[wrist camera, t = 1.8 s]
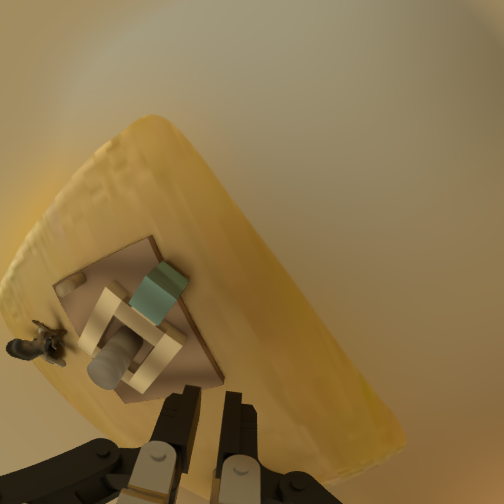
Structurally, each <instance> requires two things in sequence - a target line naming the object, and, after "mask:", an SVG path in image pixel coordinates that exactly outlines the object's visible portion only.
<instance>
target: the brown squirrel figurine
mask: <svg viewBox="0 0 504 504" xmlns="http://www.w3.org/2000/svg"><path fill="white" fill-rule="evenodd" d="M32 322H33V323H34V324H36V325H37V326H39V335H38V338H37V339H36V340H33V341H28V340H21V339H14V340H12V341H10V342H8V345H7V346H6V351H7V352H8V354H10V356H12V357H15V358H19V359H22V360H27V361H30V360H33V359H34V358H36V357H38V356H41V357H42V358H43V359H44V360H46V361H47V362H49V363H52V364H56V365H58V366H61V367H64V366H66V362H65V361H64V360H63V359H62V358H60V357H58V356H56V355H55V349H57V348H56V346H57V343H58V342H60V344H61V345H63V346H64V342H62V341H61V339H60V338H61V337H62V336H63V335H64V334H66V333H67V331H61V330H52V329H49V328H47V327H46V326H44V325H43V323H40V322H39V321H36V320H32Z"/></svg>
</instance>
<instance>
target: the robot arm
mask: <svg viewBox="0 0 504 504" xmlns="http://www.w3.org/2000/svg"><path fill="white" fill-rule="evenodd" d="M201 389H202V388H201V387H198V386H193V385H187V384H186V385H185V387H184V390H183V393H182V394H178V393H172V394H170V395H169V396H168V397H167V398H166V399H165V402H164V404H163V407H162V409H161V412H160V415H159V417H158V420H157V423H156V426H155V428H154V431H153V434H152V436H151V439H150V441H149V442H148V443H146V444H144V445H143V446H142V447H139V448H118V446H117V445H116V444H115V443H114V442H112V441H111V440H108V439H104V438H97V439H94V440H91V441H89V442H87V443H85V444H83V445H81V446H79V447H76V448H74V449H72V450H69V451H67V452H65V453H62V454H60V455H58V456H55V457H53V458H50V459H48V460H45V461H43V462H40V463H37V464H35V465H32V466H30V467H27V468H24V469H21V470H18V471H15V472H12V473H9V474H6V475H3V476H0V504H106V503H108V502H109V501H111V500H113V499H115V498H117V497H118V496H119V497H118V500H117V503H116V504H175V503H176V499H177V493H178V488H179V483H180V479H181V474H182V473H186V474H188V469H189V464H190V460H191V455H192V450H193V445H194V440H195V436H196V431H197V426H198V422H199V416H200V406H201ZM241 402H242V393H239V392H231V391H226V395H225V402H224V410H223V417H222V425H221V433H220V442H219V450H218V458H217V467H216V469H215V470H214V473H213V480H212V488H211V496H210V504H342V503H341V502H340V501H339V500H338V499H337V498H335V497H334V496H333V495H332V494H331V493H330V492H328V491H327V490H326V489H325V488H324V487H323V486H322V485H321V484H320V483H318V482H317V481H316V480H315V479H314V478H313V477H312V476H311V475H309V474H307V473H305V472H301V471H293V472H289V473H287V474H285V475H284V474H280V473H276V472H273V471H270V470H268V469H266V468H265V467H264V466H263V465H262V464H261V463H260V462H259V460H258V451H257V412H256V411H255V409H254V407H253V405H249V404H241Z"/></svg>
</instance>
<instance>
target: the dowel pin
mask: <svg viewBox="0 0 504 504" xmlns="http://www.w3.org/2000/svg"><path fill="white" fill-rule="evenodd" d="M85 282H86V276H85V274H84V273H82V272H80V273H78V274H77V275H75V276H73V277H71V278H70V279H68V280H66V281H64V282H63V283H61V284H59V285H58V286H57V287H56V292H57V294H58V295H59V296H60V297H64V296H66V295H67V294H69V293H70V292H72V291H73V290H75V289H76V288H78V287H80V286H81V285H83V284H84V283H85Z"/></svg>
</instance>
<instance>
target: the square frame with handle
mask: <svg viewBox="0 0 504 504" xmlns="http://www.w3.org/2000/svg"><path fill="white" fill-rule="evenodd" d="M188 282H189V280H187V279H186V278H185V277H184V276H182V275H181V274H180V273H178V272H177V271H176V270H174V269H173V268H172V267H171V266H169V265H168V264H167V263H165V262H164V261H162V262H161V263H160V264H159V265H157V266H156V267H155V268H154V269H153V270H152V271H150V272H149V273H148V274H147V275H146V276H145V277H144V279H143V281H142V282H141V284H140V285H139V287H138V288H137V290H136V292H135V293H134V295H133V296H132V295H131V294H130V293H128V292H127V291H126V290H125V289H123V288H122V287H121V286H120V285H119V284H117V283H116V282H115V281H113V282H111V283H110V284H109V285H107V286H106V287H105V289H104V290H103V292H102V294H101V296H100V298H99V300H98V302H97V304H96V306H95V308H94V310H93V312H92V314H91V316H90V318H89V320H88V322H87V324H86V326H85V328H84V330H83V333H82V335H81V337H80V339H79V341H78V344H77V345H78V346H79V347H80V348H82V349H83V350H84V351H85V352H86V353H88V354H89V355H90V356H91V357H92V358H95V356H96V355H97V354H98V353H99V352H100V351H101V349H102V348H103V347H104V346H105V345H106V343H107V342H108V341H107V340H106V339H105V338H104V336H105V334H106V332H107V330H108V329H109V327H110V325H111V323H112V322H113V320H114V318H115V317H117V318H118V319H119V320H120V321H122V322H123V323H124V324H125V325H127V326H128V327H129V328H131V329H132V330H133V331H135V332H136V333H137V334H138V335H140V336H141V337H142V338H144V339H145V340H147V341H148V342H149V343H151V344H152V345H153V346H154V347H153V348H152V349H151V351H150V352H149V353H148V355H147V356H146V357H145V359H144V360H143V361H142V363H141V364H140V365H139V364H137V363H136V362H135V361H132V362H131V364H130V366H129V367H128V369H127V370H126V372H125V373H124V375H123V377H122V378H121V380H123V381H124V382H125V383H127V384H128V385H130V386H131V387H133V388H134V389H136V390H137V391H139V392H140V393H142V394H143V393H144V392H145V391H146V389H147V388H148V387H149V386H150V385H151V384H152V382H153V381H154V380H155V379H156V378H157V376H158V375H159V374H160V373H161V372H162V370H163V369H164V368H165V367H166V366H167V364H168V363H169V362H170V361H171V360H172V358H173V357H174V356H175V355H176V354H177V352H178V351H179V350H180V349H181V348H182V347H183V345H184V342H185V340H186V337H187V336H185V335H184V334H183V333H181V332H180V331H178V330H177V329H176V328H174V327H173V326H171V325H170V324H169V323H167V322H166V321H165V320H163V319H164V317H165V316H166V314H167V313H168V312H169V310H170V309H171V308H172V306H173V305H174V304H175V302H176V301H177V299H178V298H179V296H180V295H181V293H182V292H183V290H184V289H185V287H186V286H187V284H188Z"/></svg>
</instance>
